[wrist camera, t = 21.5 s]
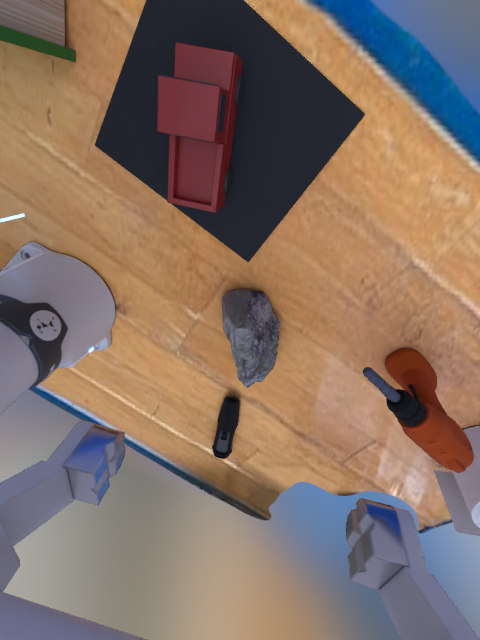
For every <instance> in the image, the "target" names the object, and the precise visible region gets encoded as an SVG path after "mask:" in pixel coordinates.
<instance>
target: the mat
mask: <svg viewBox="0 0 480 640" xmlns="http://www.w3.org/2000/svg"><path fill="white" fill-rule="evenodd" d="M176 42H177V43H183V44H188V45H194V46H200V47H206V48H211V49H217V50H223V51H228V52H234V53H235V54H237V55H238V57H239V58H240V59H241V60H242V61H243V65H242V73H241V74H243V75H244V77H245V89H244V96H243V101H242V105H241V107H240V108H237V112H236V119H235V127H234V135H233V143H232V150H231V158H230V166H229V169H231V170H232V173H233V176H232V184H231V189H230V192H229V194H228V195H226V197H225V205H224V206H223V207H222V208H220V209H219V210H218V211H217V212H216V213H214V212H210V211H205V210H201V209H196V208H191V207H187V206H182V205H177V204H173V203H171V204H173V205H174V206H175V207H177V208H178V209H179V210H180V211H182V212H183V213H184V214H186V215H187V216H188V217H190V218H191V219H192V220H194V221H195V222H196V223H198V224H199V225H200V226H201V227H203V228H204V229H205V230H207V231H208V232H209V233H211V234H212V235H213V236H215V237H216V238H217V239H218V240H220V241H221V242H222V243H224V244H225V245H226V246H228V247H229V248H230V249H232V250H233V251H234V252H236V253H237V254H238V255H239V256H241V257H242V258H243V259H245V260H246V261H247V262H249V261H250V259H251V258H252V257H253V256H254V254H255V253H256V252H257V251H258V249H259V248H260V247H261V245H262V244H263V243H264V242H265V240H266V239H267V238H268V237H269V235H270V234H271V233H272V232H273V230H274V229H275V228H276V227H277V225H278V224H279V223H280V221H281V220H282V219H283V218H284V216H285V215H286V214H287V213H288V211H289V210H290V209H291V208H292V206H293V205H294V204H295V203H296V201H297V200H298V199H299V197H300V196H301V195H302V194H303V192H304V191H305V190H306V189H307V187H308V186H309V185H310V184H311V182H312V181H313V180H314V179H315V177H316V176H317V175H318V173H319V172H320V171H321V170H322V168H323V167H324V166H325V165H326V163H327V162H328V161H329V160H330V158H331V157H332V156H333V155H334V153H335V152H336V151H337V149H338V148H339V147H340V146H341V144H342V143H343V142H344V141H345V139H346V138H347V137H348V136H349V134H350V133H351V132H352V131H353V129H354V128H355V127H356V125H357V124H358V123H359V122H360V120H361V119H362V118H363V117H364V115H365V114H364V113H363V112H362V111H361V110H360V109H359V108H358V107H357V106H356V105H355V104H354V103H353V102H351V101H350V100H349V99H348V98H347V97H346V96H345V95H344V94H343V93H342V92H341V91H340V90H339V89H338V88H336V87H335V86H334V85H333V84H332V83H331V82H330V81H329V80H328V79H327V78H326V77H325V76H324V75H323V74H322V73H320V72H319V71H318V70H317V69H316V68H315V67H314V66H313V65H312V64H311V63H310V62H309V61H308V60H307V59H306V58H304V57H303V56H302V55H301V54H300V53H299V52H298V51H297V50H296V49H295V48H294V47H293V46H292V45H291V44H290V43H288V42H287V41H286V40H285V39H284V38H283V37H282V36H281V35H280V34H279V33H278V32H277V31H276V30H275V29H273V28H272V27H271V26H270V25H269V24H268V23H267V22H266V21H265V20H264V19H263V18H262V17H261V16H260V15H259V14H257V13H256V12H255V11H254V10H253V9H252V8H251V7H250V6H249V5H248V4H247V3H246V2H245V1H244V0H146V3H145V6H144V9H143V12H142V14H141V17H140V20H139V23H138V26H137V28H136V31H135V34H134V37H133V40H132V42H131V45H130V48H129V51H128V54H127V56H126V59H125V62H124V65H123V68H122V70H121V73H120V76H119V79H118V82H117V84H116V87H115V90H114V93H113V96H112V98H111V101H110V104H109V107H108V110H107V112H106V115H105V118H104V121H103V124H102V126H101V129H100V132H99V135H98V138H97V140H96V143H95V146H97V147H98V148H99V149H100V150H102V151H103V152H104V153H106V154H107V155H108V156H110V157H111V158H112V159H114V160H115V161H116V162H118V163H119V164H120V165H121V166H123V167H124V168H125V169H127V170H128V171H129V172H131V173H132V174H133V175H135V176H136V177H137V178H139V179H140V180H141V181H142V182H144V183H145V184H146V185H148V186H149V187H150V188H152V189H153V190H154V191H156V192H157V193H158V194H159V195H161V196H162V197H163V198H165V199H166V200H167V201H168V171H169V141H170V135H168V134H164V133H163V132H158V76H159V75H160V76H165V75H167V76H173V77H174V75H175V48H176Z"/></svg>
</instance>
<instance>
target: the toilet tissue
mask: <svg viewBox="0 0 480 640" xmlns="http://www.w3.org/2000/svg"><path fill="white" fill-rule="evenodd" d="M463 431H464V433H465V434H466V436H467V438H468V439H469V441H470V444H471V446H472V449H473V453H474V460H473V463H472V464H471V465H470V466H468V467H467V468H466V470H465V471H464V472H461V473H456V472H455V471H453V470H451V471H452V473H451V472H443V471H437V470H434V472H435V474H436V478H437V480H438V483H439V486H440V488H441V491H442V494H443V496H444V500H445V502H446V505H447V507H448V510H449V512H450V515H451V518H452V521H453V523H454V527H455V530H456V531H457V532H460V533H466V534H470V535H478V536H480V426H475V427H471V428H467V429H464V430H463Z"/></svg>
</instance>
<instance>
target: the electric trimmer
mask: <svg viewBox="0 0 480 640" xmlns="http://www.w3.org/2000/svg"><path fill="white" fill-rule="evenodd" d="M239 405H240V402H239V400H238V399H235V398H231V397H225V399H224V402H223V405H222V408H221V411H220V414H219V417H218V427H217V433H216V437H215V441H214V445H213V446H212V448H213V453H214V455H215V456H216V457H218V458H222V459H225V458H227V457H228V456H229V455H230V453H231V452H232V449H231V445H232V439H233V435H234V432H235V429H236V427H237V425H238V418H239Z"/></svg>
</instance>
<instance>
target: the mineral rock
mask: <svg viewBox="0 0 480 640" xmlns="http://www.w3.org/2000/svg"><path fill="white" fill-rule="evenodd" d="M222 313H223V330H224V332H225V334H226V335H227V338H228V340H229V341H230V342H231V348H232V352H233V357H234V359H235V364H236V367H237V368H238V371H237V374H238V378H239V380H240V381H242V383H243V384H244V385H245V386H246V387H247V388H249V387H250V386H251V385H252V384H254V383H255V382H262V381H263V380H264V378H265V377H266V376H267V374H268V373H269V372H270V371H271V370H272V369H273V367H274V365H275V360H276V355H277V350H276V348H277V347H278V343H277V342H278V340H279V331H278V329H279V324H280V322H279V320H278V318H277V317H276V316H275V314H274V313H273V311H272V307H271V305H270V301H269V299H268V298H267V297H266V295H265V293H264V292H260V291H258V292H256V291H251V290H248V289H237V290H232V291H229V292H227V293H226V294H225V295H224V296H223V297H222Z"/></svg>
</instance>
